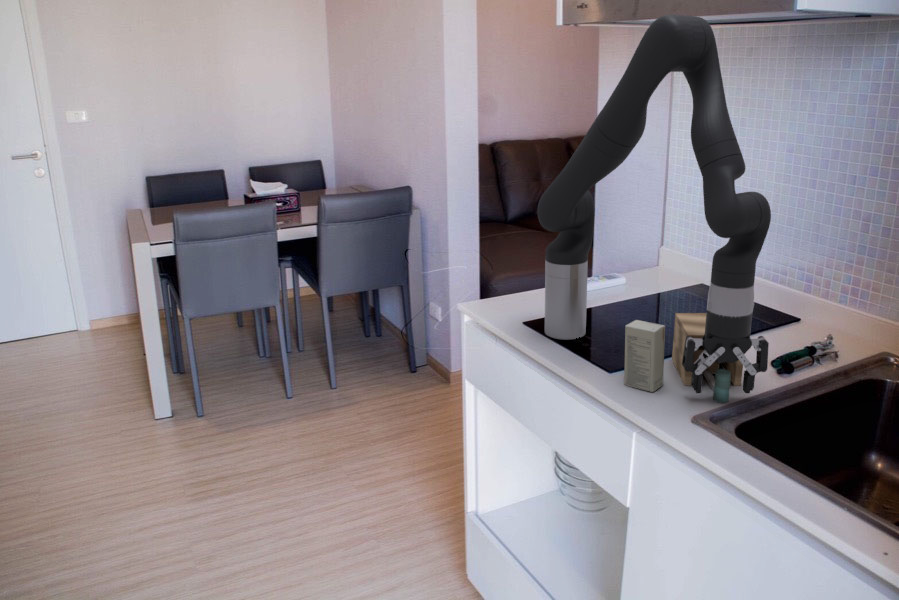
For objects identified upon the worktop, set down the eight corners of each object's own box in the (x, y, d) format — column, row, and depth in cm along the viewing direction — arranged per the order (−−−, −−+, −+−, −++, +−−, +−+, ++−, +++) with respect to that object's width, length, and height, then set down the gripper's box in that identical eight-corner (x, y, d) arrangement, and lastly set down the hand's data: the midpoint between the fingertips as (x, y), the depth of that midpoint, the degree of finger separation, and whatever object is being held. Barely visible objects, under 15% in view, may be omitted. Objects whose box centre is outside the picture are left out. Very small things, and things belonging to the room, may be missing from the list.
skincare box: (663, 385, 142) (667, 325, 138) (652, 393, 139) (656, 332, 135) (633, 376, 146) (636, 318, 142) (621, 384, 143) (624, 324, 139)
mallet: (686, 362, 151) (688, 337, 150) (712, 363, 151) (714, 337, 149) (708, 402, 135) (710, 375, 133) (736, 403, 134) (739, 375, 132)
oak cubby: (671, 359, 153) (675, 313, 150) (724, 360, 152) (728, 313, 149) (684, 385, 142) (688, 335, 138) (740, 385, 141) (746, 335, 138)
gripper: (765, 300, 133) (755, 383, 138) (683, 300, 134) (677, 382, 139) (779, 314, 126) (768, 401, 131) (692, 314, 127) (685, 400, 132)
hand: (721, 391), depth 135 cm, fingers open, 8 cm apart
